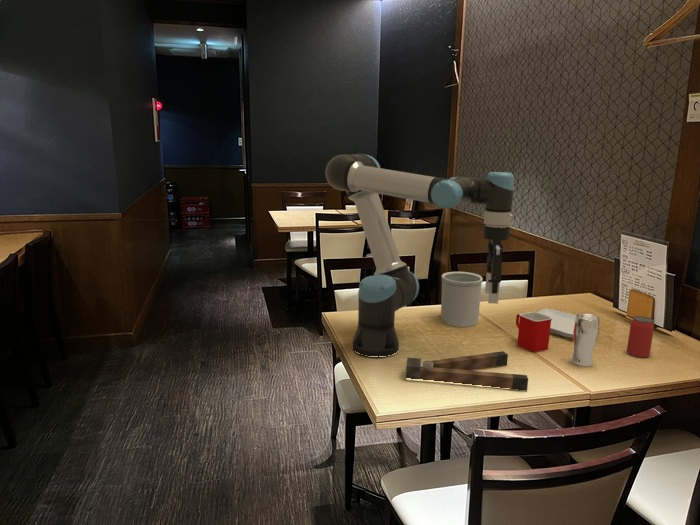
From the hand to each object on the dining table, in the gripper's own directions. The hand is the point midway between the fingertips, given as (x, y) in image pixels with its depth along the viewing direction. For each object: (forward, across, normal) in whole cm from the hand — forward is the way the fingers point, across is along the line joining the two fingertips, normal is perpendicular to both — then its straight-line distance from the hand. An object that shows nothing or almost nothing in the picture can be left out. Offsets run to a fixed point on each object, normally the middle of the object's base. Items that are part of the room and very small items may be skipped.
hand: (491, 298), depth 156 cm
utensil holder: (+20, +34, +7) cm, 40 cm away
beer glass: (+20, +2, -29) cm, 35 cm away
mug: (+20, +15, -15) cm, 29 cm away
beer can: (+20, +14, -49) cm, 55 cm away
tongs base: (+20, -17, +8) cm, 27 cm away
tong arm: (+20, -9, +6) cm, 22 cm away
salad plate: (+20, +34, -29) cm, 50 cm away
